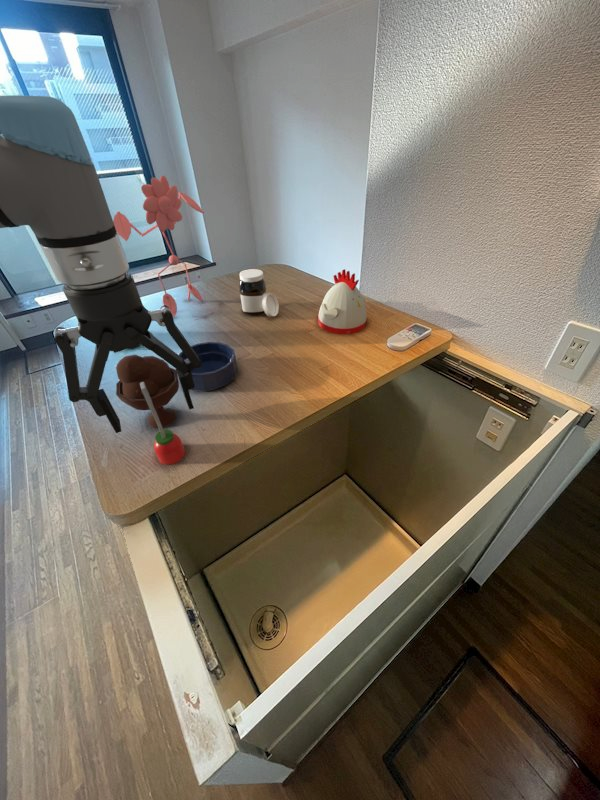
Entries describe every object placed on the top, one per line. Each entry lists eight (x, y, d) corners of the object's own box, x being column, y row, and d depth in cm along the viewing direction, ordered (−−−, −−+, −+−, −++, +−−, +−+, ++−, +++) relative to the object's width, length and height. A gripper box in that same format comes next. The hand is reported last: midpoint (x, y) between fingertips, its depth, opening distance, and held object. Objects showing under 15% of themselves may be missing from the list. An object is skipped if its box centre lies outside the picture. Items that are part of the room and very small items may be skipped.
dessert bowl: (168, 382, 75) (162, 364, 71) (206, 354, 84) (202, 337, 80) (213, 399, 70) (209, 381, 67) (248, 367, 79) (246, 350, 75)
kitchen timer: (343, 339, 88) (348, 285, 78) (308, 321, 96) (308, 270, 86) (375, 322, 95) (383, 270, 85) (340, 307, 103) (344, 258, 93)
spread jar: (244, 304, 105) (239, 267, 98) (279, 303, 106) (277, 266, 98) (240, 321, 96) (235, 282, 89) (279, 320, 97) (276, 281, 89)
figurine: (141, 321, 97) (90, 181, 74) (204, 291, 114) (178, 169, 91) (176, 334, 91) (132, 187, 68) (237, 301, 107) (218, 172, 84)
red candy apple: (160, 468, 56) (127, 399, 46) (156, 450, 60) (124, 381, 49) (187, 458, 58) (161, 389, 48) (182, 441, 61) (156, 372, 51)
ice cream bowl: (160, 446, 60) (131, 383, 50) (122, 424, 65) (89, 362, 55) (201, 412, 67) (183, 350, 57) (164, 394, 71) (141, 334, 62)
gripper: (-33, 312, 31) (75, 457, 46) (202, 270, 39) (231, 406, 54) (-18, 285, 36) (75, 424, 51) (188, 253, 44) (217, 381, 59)
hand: (155, 415), depth 52 cm, fingers open, 10 cm apart
